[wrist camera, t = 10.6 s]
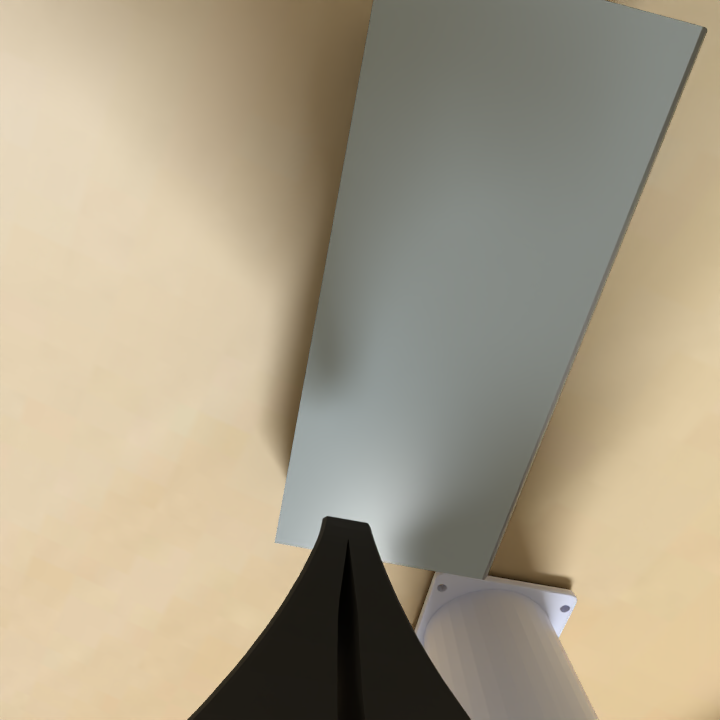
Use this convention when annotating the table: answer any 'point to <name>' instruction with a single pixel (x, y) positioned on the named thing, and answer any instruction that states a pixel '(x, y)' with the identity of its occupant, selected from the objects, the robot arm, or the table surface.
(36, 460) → the table surface
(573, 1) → the cover
